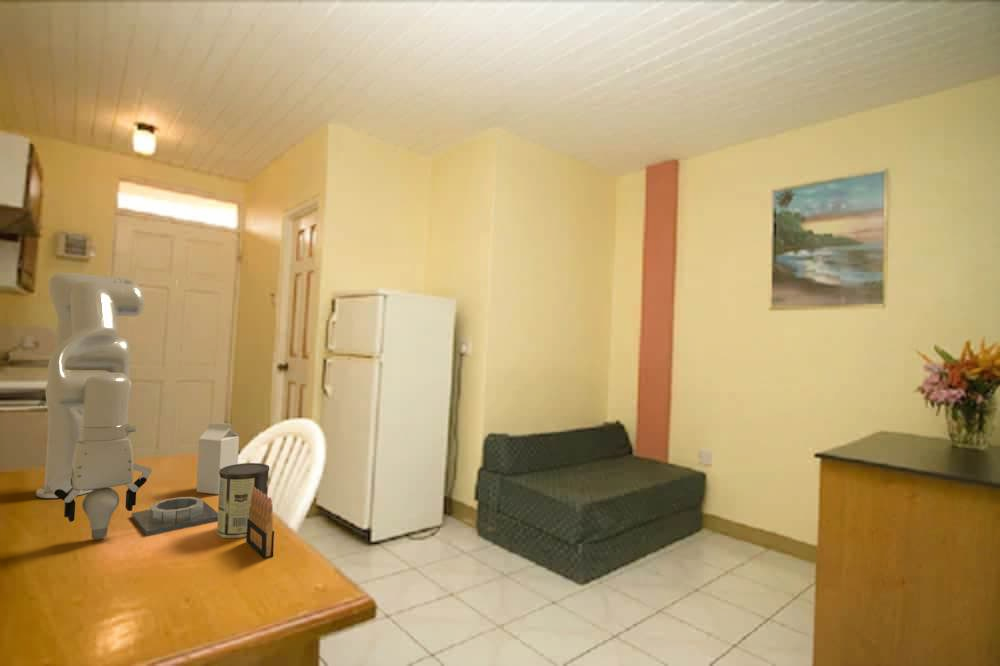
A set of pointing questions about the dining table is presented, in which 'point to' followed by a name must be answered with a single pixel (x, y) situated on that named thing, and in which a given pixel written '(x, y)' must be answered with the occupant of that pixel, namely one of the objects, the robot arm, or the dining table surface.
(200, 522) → the ring collar
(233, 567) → the dining table surface
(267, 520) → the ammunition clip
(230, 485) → the coffee can
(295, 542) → the dining table surface
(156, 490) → the dining table surface
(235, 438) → the milk carton
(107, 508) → the lightbulb
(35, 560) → the dining table surface
